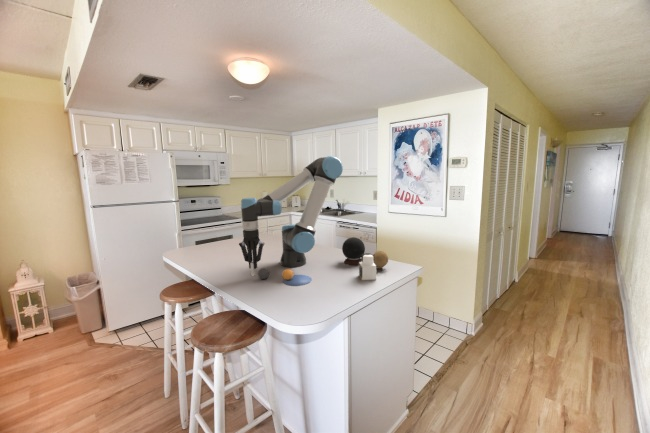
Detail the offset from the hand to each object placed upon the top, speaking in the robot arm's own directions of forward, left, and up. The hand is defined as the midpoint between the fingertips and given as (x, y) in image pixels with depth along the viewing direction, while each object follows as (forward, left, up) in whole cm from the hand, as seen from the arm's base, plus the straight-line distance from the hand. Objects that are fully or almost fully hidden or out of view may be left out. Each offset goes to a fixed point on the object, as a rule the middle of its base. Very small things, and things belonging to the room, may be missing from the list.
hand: (253, 274), depth 145 cm
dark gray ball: (-6, 0, +1) cm, 6 cm away
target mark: (-23, 0, -2) cm, 23 cm away
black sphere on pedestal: (-48, -31, -2) cm, 57 cm away
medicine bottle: (-57, -8, -2) cm, 58 cm away
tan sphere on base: (-63, -22, -2) cm, 67 cm away
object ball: (-18, 0, +1) cm, 18 cm away
